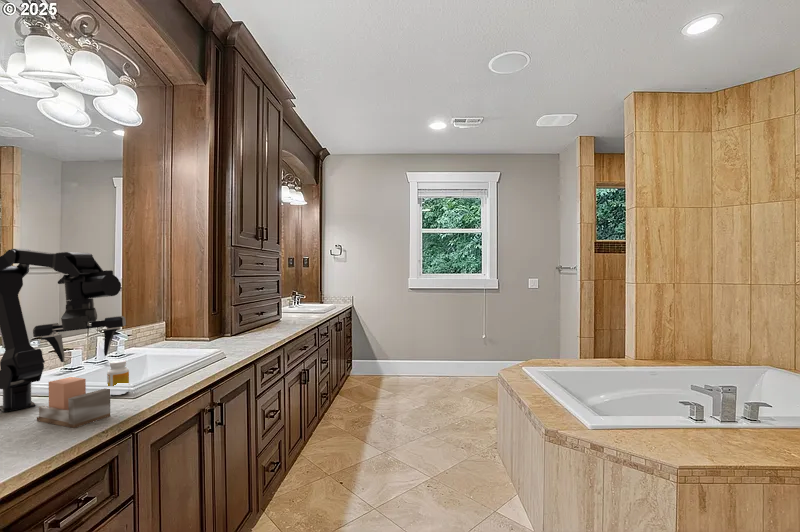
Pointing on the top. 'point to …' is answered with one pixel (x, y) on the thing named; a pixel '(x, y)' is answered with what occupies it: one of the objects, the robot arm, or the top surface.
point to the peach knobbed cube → (65, 391)
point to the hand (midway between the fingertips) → (84, 358)
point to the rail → (79, 410)
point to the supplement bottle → (117, 373)
